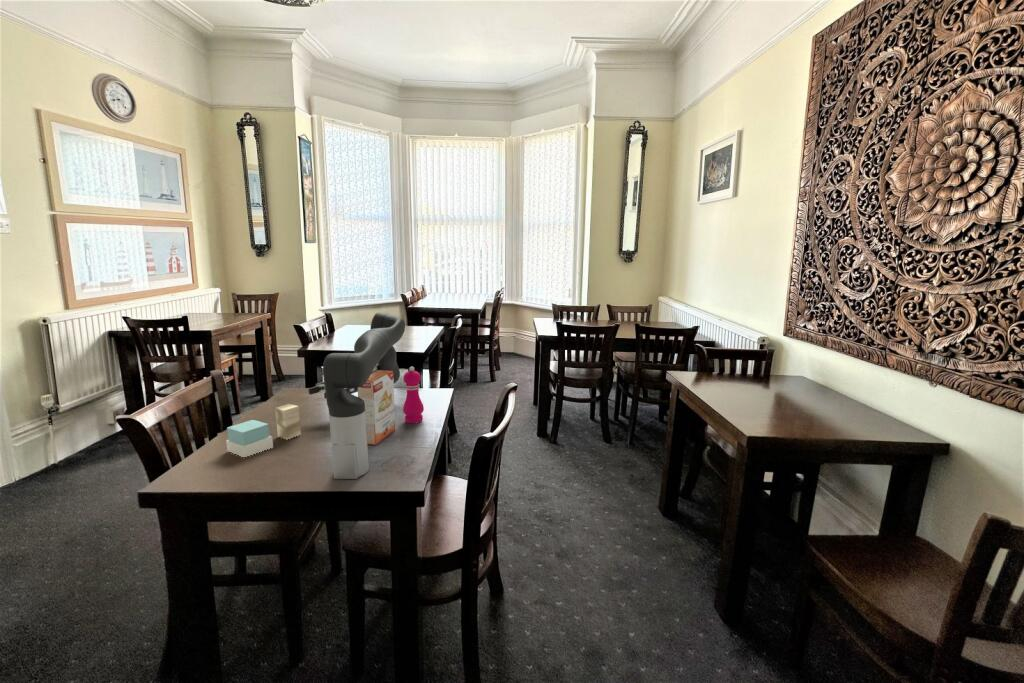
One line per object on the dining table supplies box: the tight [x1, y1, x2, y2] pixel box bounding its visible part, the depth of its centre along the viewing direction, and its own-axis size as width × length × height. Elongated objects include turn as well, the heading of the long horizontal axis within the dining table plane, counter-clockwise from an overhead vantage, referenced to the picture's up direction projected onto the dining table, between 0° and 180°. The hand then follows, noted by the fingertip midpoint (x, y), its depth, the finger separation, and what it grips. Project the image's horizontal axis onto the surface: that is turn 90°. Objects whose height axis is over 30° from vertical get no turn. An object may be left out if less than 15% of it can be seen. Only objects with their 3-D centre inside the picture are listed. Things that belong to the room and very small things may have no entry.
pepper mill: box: [402, 366, 425, 424], centre depth 166 cm, size 7×7×20 cm
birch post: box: [274, 403, 302, 441], centre depth 153 cm, size 5×5×10 cm
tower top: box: [226, 419, 271, 445], centre depth 142 cm, size 8×8×4 cm
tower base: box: [225, 435, 274, 458], centre depth 143 cm, size 9×9×4 cm
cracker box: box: [357, 370, 396, 446], centre depth 152 cm, size 14×6×21 cm, turn 168°
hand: (316, 393), depth 162 cm, fingers open, 8 cm apart
